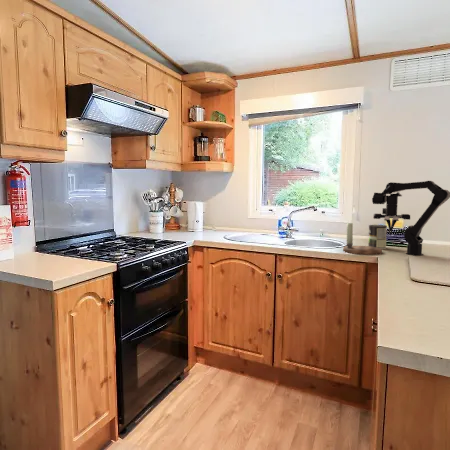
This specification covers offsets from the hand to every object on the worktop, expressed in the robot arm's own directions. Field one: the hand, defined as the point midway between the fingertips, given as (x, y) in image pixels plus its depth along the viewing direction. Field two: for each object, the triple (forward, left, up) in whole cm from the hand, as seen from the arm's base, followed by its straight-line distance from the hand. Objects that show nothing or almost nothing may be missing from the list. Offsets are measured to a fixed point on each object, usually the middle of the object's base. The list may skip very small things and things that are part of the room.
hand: (390, 231), depth 194 cm
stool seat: (+6, +14, -12) cm, 20 cm away
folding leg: (+11, +20, -10) cm, 25 cm away
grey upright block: (+14, -5, -12) cm, 19 cm away
